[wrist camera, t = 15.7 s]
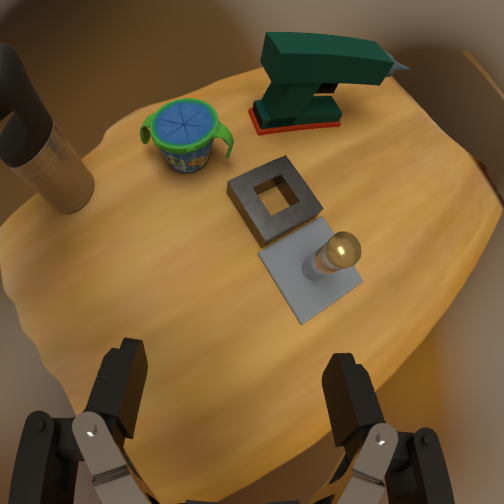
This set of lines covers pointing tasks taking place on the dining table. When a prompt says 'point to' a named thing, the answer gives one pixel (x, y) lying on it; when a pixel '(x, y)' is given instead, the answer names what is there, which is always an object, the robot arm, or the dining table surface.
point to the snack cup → (185, 133)
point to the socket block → (291, 187)
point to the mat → (292, 278)
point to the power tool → (313, 78)
